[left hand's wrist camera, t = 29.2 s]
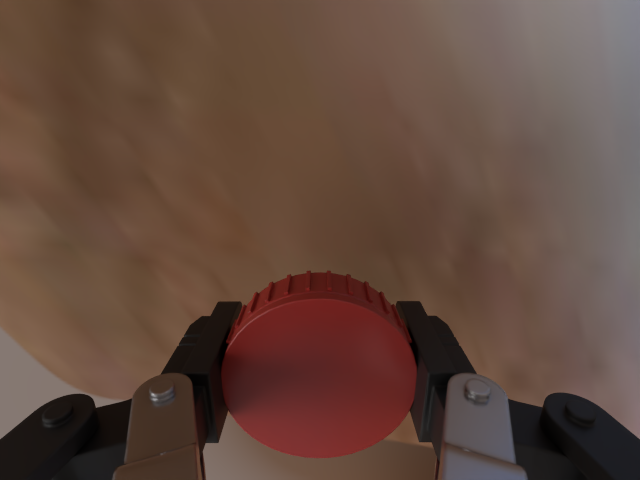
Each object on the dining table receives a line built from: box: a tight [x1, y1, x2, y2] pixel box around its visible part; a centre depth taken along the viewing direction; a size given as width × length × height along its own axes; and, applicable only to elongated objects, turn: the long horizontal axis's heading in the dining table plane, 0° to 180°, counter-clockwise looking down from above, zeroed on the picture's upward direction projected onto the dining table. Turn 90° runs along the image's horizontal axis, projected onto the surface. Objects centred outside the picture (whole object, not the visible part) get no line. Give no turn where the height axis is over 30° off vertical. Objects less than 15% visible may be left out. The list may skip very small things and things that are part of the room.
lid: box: [221, 271, 417, 458], centre depth 10 cm, size 5×5×2 cm
